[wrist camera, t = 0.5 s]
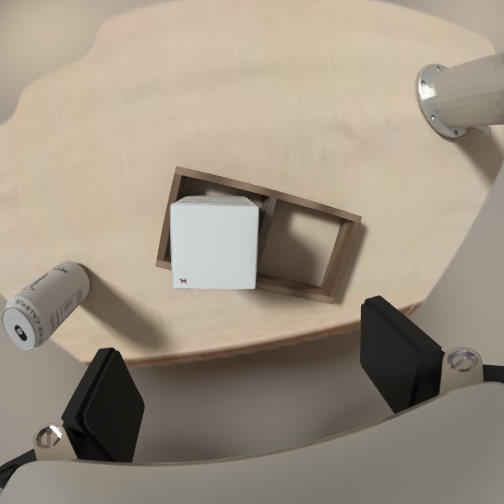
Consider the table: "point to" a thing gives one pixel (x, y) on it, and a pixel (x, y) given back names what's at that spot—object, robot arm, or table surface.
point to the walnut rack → (262, 281)
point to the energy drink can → (44, 305)
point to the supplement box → (214, 242)
